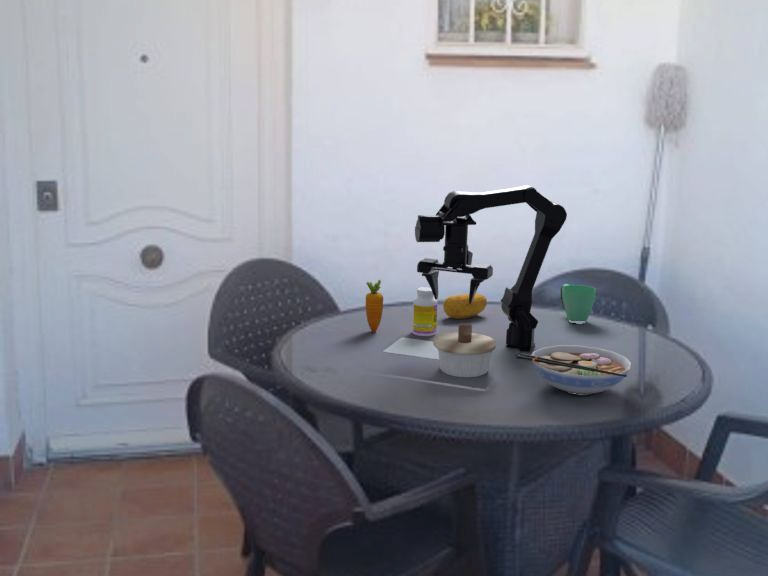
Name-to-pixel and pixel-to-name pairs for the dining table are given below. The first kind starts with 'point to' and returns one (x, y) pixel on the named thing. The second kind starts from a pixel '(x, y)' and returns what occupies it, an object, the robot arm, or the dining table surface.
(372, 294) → the carrot
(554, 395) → the dining table surface
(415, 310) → the supplement bottle
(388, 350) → the mat
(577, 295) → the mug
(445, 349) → the lid
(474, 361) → the ramekin
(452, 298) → the potato
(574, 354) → the ramen bowl
